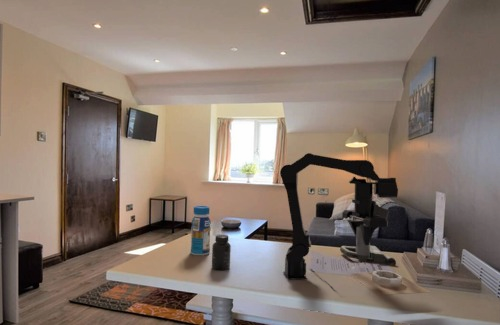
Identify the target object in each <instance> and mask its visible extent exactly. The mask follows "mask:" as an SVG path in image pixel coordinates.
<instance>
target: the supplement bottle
mask: <svg viewBox="0 0 500 325" xmlns="http://www.w3.org/2000/svg"><path fill="white" fill-rule="evenodd" d="M214 240H215V242H214V243H212V249H211V251H212V252H211V268H212V269H213V270H214V271H220V272H224V271H227V270H229V269H230V267H231V250H232V249H231V248H232V246H231V243H229V235H227V234H217V235H215V239H214Z"/></svg>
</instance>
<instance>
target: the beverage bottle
mask: <svg viewBox="0 0 500 325" xmlns="http://www.w3.org/2000/svg"><path fill="white" fill-rule="evenodd" d="M209 214H210V207H209V206H208V205H196V206H193V215H194V216H193V218H192V219H191V227H190V231H191V235H190V236H191V237H190V238H191V241H190V242H191V243H190V254H192V256H193V255H194V256H207V255H209V253H210V249H211V248H210V242H211V231H212V230H211V219H210V217H209V216H208V215H209Z"/></svg>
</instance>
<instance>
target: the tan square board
mask: <svg viewBox="0 0 500 325" xmlns="http://www.w3.org/2000/svg"><path fill="white" fill-rule="evenodd" d="M372 273H373V272H362V273H361V272H360V273H359V272H357V273H348V275H349V276H350V277H352V278H353V279H355V280H356V281H358V282H360V283H361V284H363V286H365V287H366V288H367V289H369V290H370V291H372V292H373V293H375V294H376V295H378V296H383V295H384V296H386V295H387V296H388V295H402V294H403V295H406V294H423V293H426V294H427V293H431V291H430V290H428V289H426V288H424V287H422V286H421V285H418V284H417V283H415V282H413V281H411V280H409V279H407V277H404V276H402V284H401V286H400V287H392V288H390V287H385V286H381V285H378V284H376V283H375V282H373V281H372Z"/></svg>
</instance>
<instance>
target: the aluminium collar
mask: <svg viewBox="0 0 500 325" xmlns="http://www.w3.org/2000/svg"><path fill="white" fill-rule="evenodd" d="M371 273H372V281H373V282H375V283H376V284H378V285H381V286H385V287H390V288H392V287H400V286H401V284H402V277H403V275H400V274H398V273H397V272H396V271H395V272H394V271H391V270H390V271H389V270H385V269H381V270H374V271H373V272H371Z"/></svg>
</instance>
